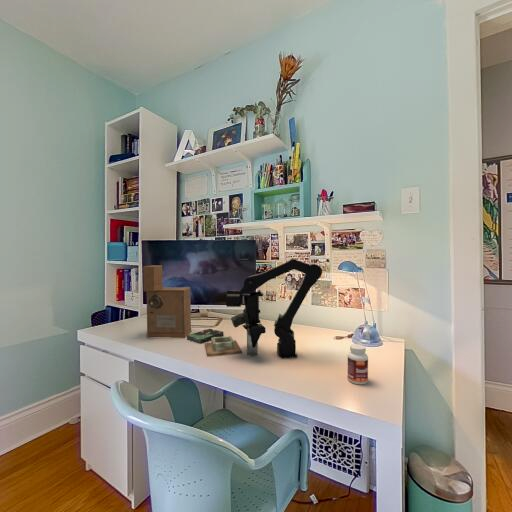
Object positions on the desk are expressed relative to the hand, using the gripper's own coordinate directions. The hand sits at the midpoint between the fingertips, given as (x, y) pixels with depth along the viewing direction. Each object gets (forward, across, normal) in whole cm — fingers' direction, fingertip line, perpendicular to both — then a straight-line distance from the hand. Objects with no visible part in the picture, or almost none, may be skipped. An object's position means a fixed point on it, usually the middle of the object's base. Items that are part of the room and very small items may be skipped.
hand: (252, 345), depth 115 cm
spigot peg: (+4, 0, 0) cm, 4 cm away
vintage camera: (+4, -37, -35) cm, 51 cm away
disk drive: (+4, -27, -17) cm, 32 cm away
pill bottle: (+4, +32, +27) cm, 42 cm away
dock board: (+4, -9, -11) cm, 15 cm away
